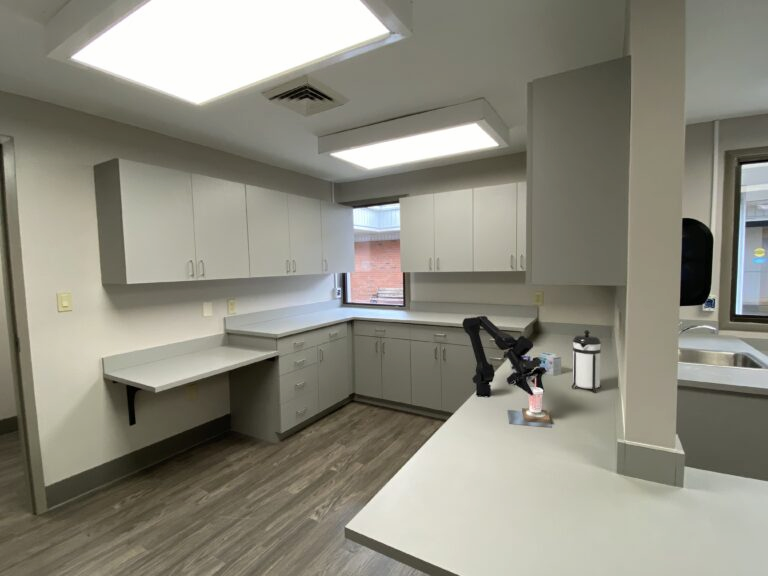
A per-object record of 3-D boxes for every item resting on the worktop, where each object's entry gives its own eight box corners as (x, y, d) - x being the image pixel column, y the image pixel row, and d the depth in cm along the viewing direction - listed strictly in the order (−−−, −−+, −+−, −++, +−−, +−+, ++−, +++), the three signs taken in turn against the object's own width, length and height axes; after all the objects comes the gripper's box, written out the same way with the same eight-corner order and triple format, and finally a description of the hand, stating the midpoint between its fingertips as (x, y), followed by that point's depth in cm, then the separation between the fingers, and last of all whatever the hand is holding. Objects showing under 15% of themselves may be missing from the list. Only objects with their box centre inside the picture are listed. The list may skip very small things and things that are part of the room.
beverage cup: (529, 412, 154) (529, 380, 153) (525, 407, 160) (526, 375, 159) (544, 413, 153) (545, 380, 152) (540, 407, 159) (541, 375, 158)
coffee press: (611, 392, 183) (612, 332, 181) (578, 393, 183) (579, 333, 181) (592, 381, 200) (593, 326, 198) (562, 382, 201) (563, 327, 198)
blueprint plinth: (509, 423, 152) (509, 418, 152) (507, 410, 166) (507, 405, 165) (551, 427, 148) (551, 422, 148) (546, 413, 161) (546, 408, 161)
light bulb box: (538, 371, 221) (538, 353, 220) (546, 369, 224) (546, 351, 223) (553, 376, 212) (553, 357, 211) (561, 374, 214) (561, 355, 214)
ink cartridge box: (531, 377, 210) (531, 352, 209) (528, 380, 206) (528, 354, 205) (513, 374, 216) (513, 349, 215) (510, 377, 212) (510, 351, 211)
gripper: (512, 354, 154) (533, 388, 145) (543, 348, 162) (565, 380, 154) (498, 368, 162) (517, 401, 153) (528, 361, 170) (549, 392, 161)
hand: (538, 393), depth 155 cm, fingers closed on beverage cup, 6 cm apart
